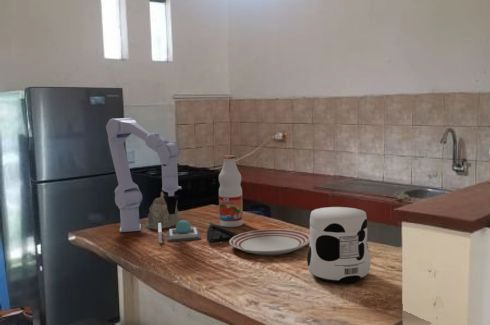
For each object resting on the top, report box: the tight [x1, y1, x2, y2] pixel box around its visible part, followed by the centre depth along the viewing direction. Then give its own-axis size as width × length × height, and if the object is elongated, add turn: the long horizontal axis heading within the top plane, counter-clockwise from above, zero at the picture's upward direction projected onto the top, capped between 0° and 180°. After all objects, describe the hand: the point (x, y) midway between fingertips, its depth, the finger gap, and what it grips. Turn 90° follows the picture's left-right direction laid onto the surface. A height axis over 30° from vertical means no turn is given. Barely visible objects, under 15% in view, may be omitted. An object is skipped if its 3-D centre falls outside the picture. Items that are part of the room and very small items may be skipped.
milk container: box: [306, 206, 371, 283], centre depth 136 cm, size 17×17×18 cm
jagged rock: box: [145, 191, 181, 230], centre depth 202 cm, size 16×16×15 cm
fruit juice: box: [218, 154, 244, 228], centre depth 196 cm, size 9×9×28 cm
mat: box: [166, 226, 202, 243], centre depth 183 cm, size 12×12×2 cm
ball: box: [175, 219, 191, 234], centre depth 182 cm, size 6×6×6 cm
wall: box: [157, 223, 163, 244], centre depth 181 cm, size 14×1×4 cm, turn 10°
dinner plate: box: [228, 228, 310, 256], centre depth 166 cm, size 27×27×3 cm
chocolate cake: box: [206, 222, 239, 245], centre depth 176 cm, size 10×7×12 cm
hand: (171, 211), depth 182 cm, fingers open, 7 cm apart
